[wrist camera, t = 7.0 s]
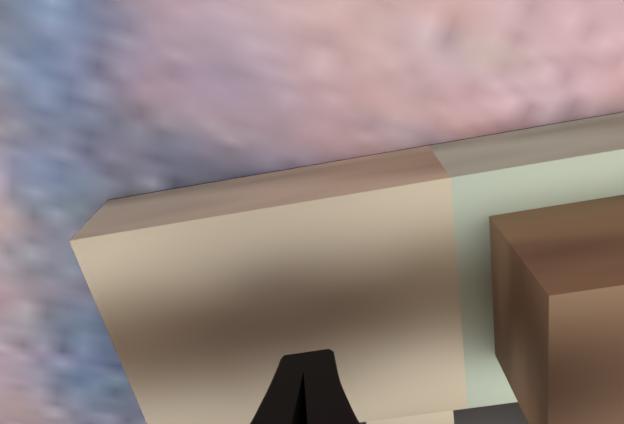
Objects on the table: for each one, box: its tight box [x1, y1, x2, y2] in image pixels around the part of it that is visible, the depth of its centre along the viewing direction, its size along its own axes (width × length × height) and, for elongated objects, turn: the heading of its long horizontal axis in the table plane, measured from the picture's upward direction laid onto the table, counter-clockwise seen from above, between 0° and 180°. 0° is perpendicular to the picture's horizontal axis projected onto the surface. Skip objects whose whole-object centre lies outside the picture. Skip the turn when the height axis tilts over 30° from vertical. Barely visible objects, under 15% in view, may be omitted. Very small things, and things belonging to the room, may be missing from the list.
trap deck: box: [69, 112, 624, 424], centre depth 18 cm, size 16×18×5 cm
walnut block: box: [489, 195, 624, 424], centre depth 13 cm, size 5×5×4 cm
